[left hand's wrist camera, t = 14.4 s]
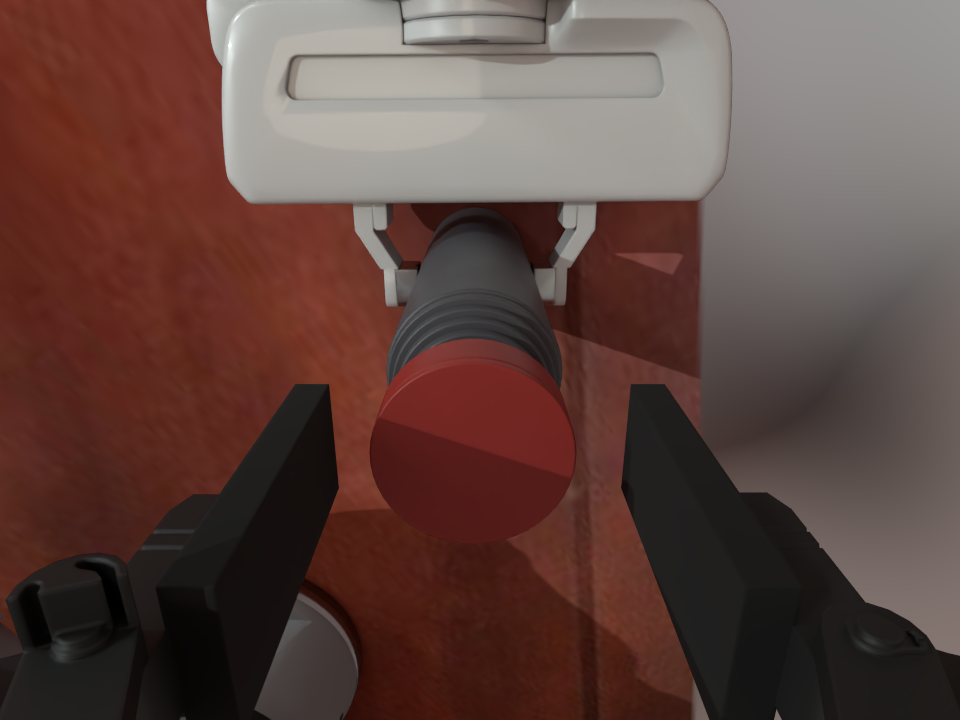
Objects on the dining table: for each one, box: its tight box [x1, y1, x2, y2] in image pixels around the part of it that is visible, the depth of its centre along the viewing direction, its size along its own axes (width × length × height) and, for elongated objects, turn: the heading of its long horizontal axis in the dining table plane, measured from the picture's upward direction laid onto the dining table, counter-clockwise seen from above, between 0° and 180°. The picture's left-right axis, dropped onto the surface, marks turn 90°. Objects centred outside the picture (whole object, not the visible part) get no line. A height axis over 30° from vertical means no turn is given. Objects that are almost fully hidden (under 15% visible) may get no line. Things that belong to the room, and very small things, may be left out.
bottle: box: [387, 207, 562, 389], centre depth 24 cm, size 5×5×22 cm
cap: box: [370, 339, 576, 544], centre depth 15 cm, size 4×5×2 cm
